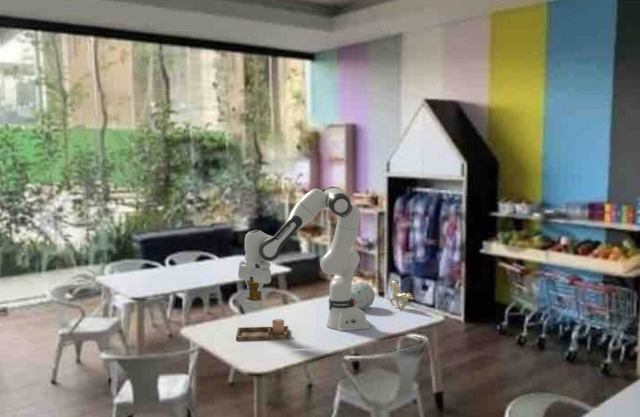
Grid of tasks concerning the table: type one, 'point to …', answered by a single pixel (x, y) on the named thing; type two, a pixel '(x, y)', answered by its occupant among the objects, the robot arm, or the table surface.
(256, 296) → the condiment
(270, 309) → the table surface
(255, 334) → the caddy
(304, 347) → the table surface
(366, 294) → the puzzle ball
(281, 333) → the beige cylinder
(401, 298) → the golden horse figurine
